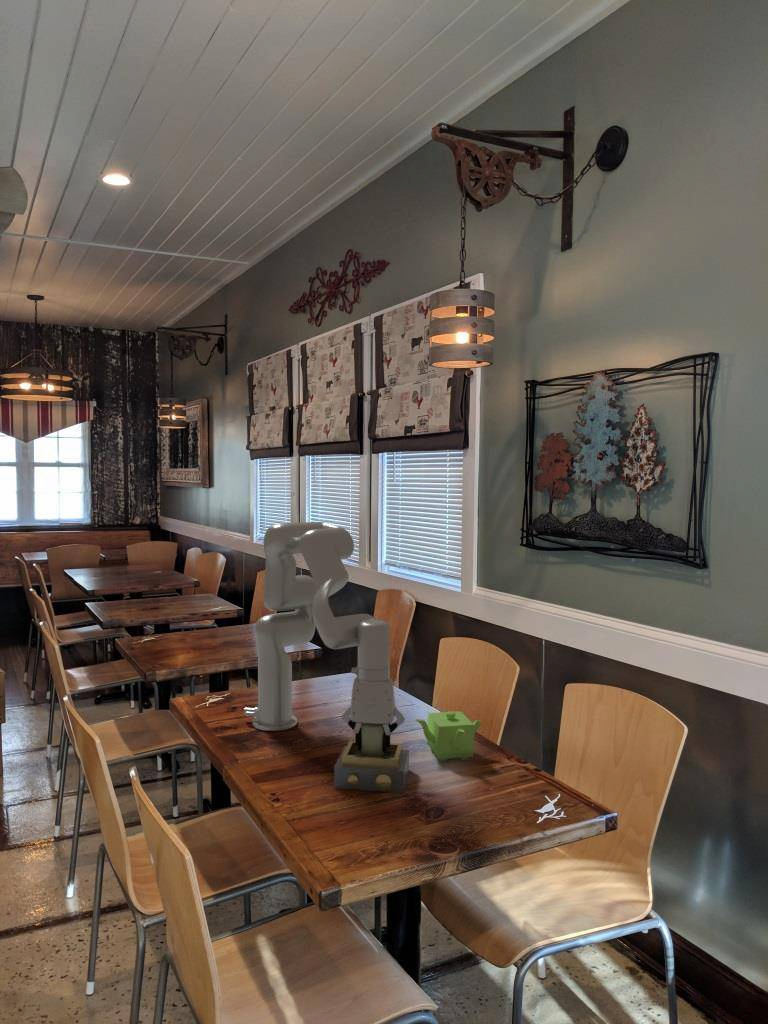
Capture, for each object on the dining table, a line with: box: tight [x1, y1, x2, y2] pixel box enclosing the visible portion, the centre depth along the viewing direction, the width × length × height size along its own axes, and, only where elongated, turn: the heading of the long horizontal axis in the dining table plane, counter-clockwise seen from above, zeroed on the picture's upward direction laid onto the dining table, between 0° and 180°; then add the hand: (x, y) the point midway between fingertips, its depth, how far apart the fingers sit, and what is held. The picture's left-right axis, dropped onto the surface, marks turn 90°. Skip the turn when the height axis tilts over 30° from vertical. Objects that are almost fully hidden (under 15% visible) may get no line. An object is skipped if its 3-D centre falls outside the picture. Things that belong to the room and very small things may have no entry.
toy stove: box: [333, 740, 410, 794], centre depth 177 cm, size 16×14×7 cm
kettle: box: [414, 710, 483, 763], centre depth 193 cm, size 15×14×11 cm
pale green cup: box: [361, 723, 385, 757], centre depth 178 cm, size 6×8×7 cm
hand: (372, 748), depth 178 cm, fingers closed on pale green cup, 5 cm apart
